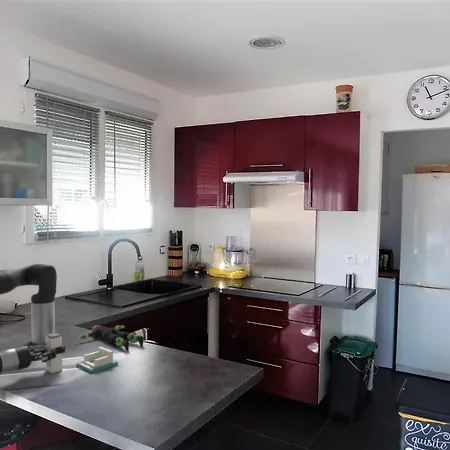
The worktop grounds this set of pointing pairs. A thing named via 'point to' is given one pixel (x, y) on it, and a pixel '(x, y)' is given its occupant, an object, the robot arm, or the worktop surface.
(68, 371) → the worktop surface
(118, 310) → the worktop surface
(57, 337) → the cream rectangular block
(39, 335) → the robot arm
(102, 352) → the green base socket
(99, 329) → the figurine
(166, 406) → the worktop surface
